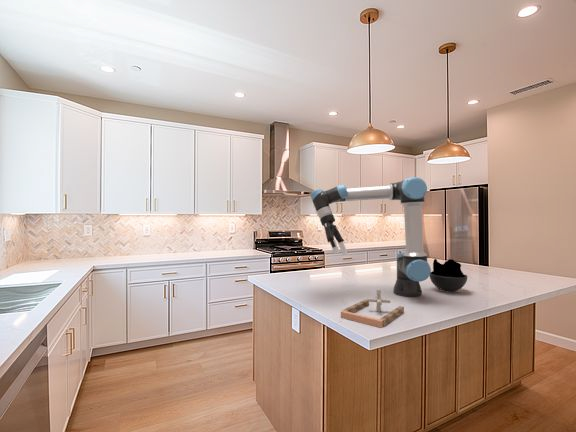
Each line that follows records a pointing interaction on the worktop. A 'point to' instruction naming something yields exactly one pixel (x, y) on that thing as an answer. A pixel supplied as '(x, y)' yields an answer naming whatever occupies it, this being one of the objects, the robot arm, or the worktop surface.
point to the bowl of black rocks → (448, 275)
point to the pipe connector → (378, 300)
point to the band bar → (362, 319)
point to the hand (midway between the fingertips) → (341, 253)
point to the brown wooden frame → (386, 318)
